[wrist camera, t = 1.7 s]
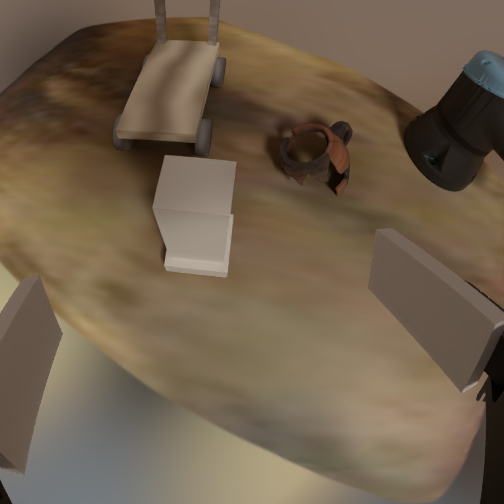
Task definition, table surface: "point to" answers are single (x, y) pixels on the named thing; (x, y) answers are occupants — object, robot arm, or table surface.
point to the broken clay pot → (320, 166)
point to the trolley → (173, 89)
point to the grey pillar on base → (195, 214)
